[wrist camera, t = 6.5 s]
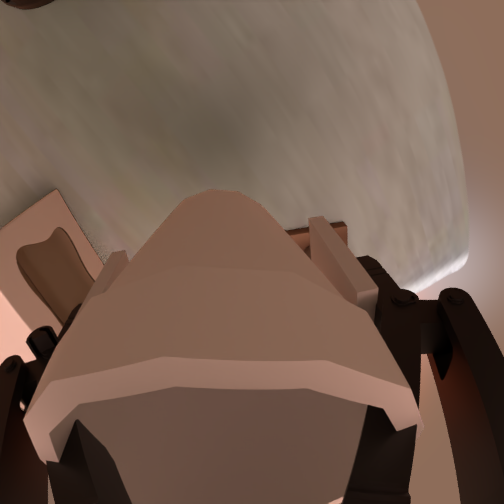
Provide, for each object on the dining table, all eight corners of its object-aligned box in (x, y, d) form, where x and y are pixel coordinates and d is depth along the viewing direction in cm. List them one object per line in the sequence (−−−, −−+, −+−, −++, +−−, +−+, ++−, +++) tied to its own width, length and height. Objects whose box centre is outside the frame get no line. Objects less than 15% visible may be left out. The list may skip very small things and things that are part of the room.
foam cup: (217, 120, 14) (201, 205, 3) (336, 240, 18) (462, 434, 6) (104, 250, 17) (0, 453, 5) (222, 337, 20) (233, 535, 9)
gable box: (-1, 231, 35) (-122, 357, 10) (56, 186, 34) (-104, 324, 9) (81, 344, 45) (28, 496, 20) (144, 319, 44) (104, 506, 19)
